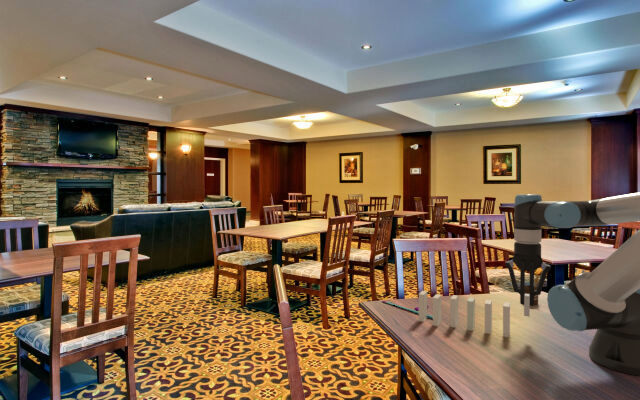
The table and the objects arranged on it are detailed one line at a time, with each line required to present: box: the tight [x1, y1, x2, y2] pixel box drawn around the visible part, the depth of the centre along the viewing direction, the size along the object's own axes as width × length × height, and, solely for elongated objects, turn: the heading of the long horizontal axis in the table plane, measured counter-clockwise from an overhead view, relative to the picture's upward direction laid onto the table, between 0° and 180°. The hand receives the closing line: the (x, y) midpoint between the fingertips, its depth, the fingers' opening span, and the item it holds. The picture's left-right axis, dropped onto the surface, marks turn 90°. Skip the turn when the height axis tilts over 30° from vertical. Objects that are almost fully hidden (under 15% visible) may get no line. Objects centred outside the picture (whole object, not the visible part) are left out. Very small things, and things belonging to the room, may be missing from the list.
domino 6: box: [502, 301, 511, 338], centre depth 117 cm, size 2×5×10 cm, turn 149°
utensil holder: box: [525, 274, 540, 306], centre depth 149 cm, size 6×6×12 cm
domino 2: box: [432, 293, 442, 327], centre depth 126 cm, size 2×5×10 cm, turn 149°
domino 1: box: [418, 290, 428, 323], centre depth 131 cm, size 2×5×10 cm, turn 149°
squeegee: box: [381, 300, 433, 320], centre depth 143 cm, size 29×2×10 cm
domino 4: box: [466, 296, 476, 331], centre depth 122 cm, size 2×5×10 cm, turn 150°
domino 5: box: [484, 299, 493, 335], centre depth 119 cm, size 2×5×10 cm, turn 149°
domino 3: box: [449, 294, 459, 328], centre depth 125 cm, size 2×5×10 cm, turn 149°
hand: (526, 314), depth 114 cm, fingers closed
